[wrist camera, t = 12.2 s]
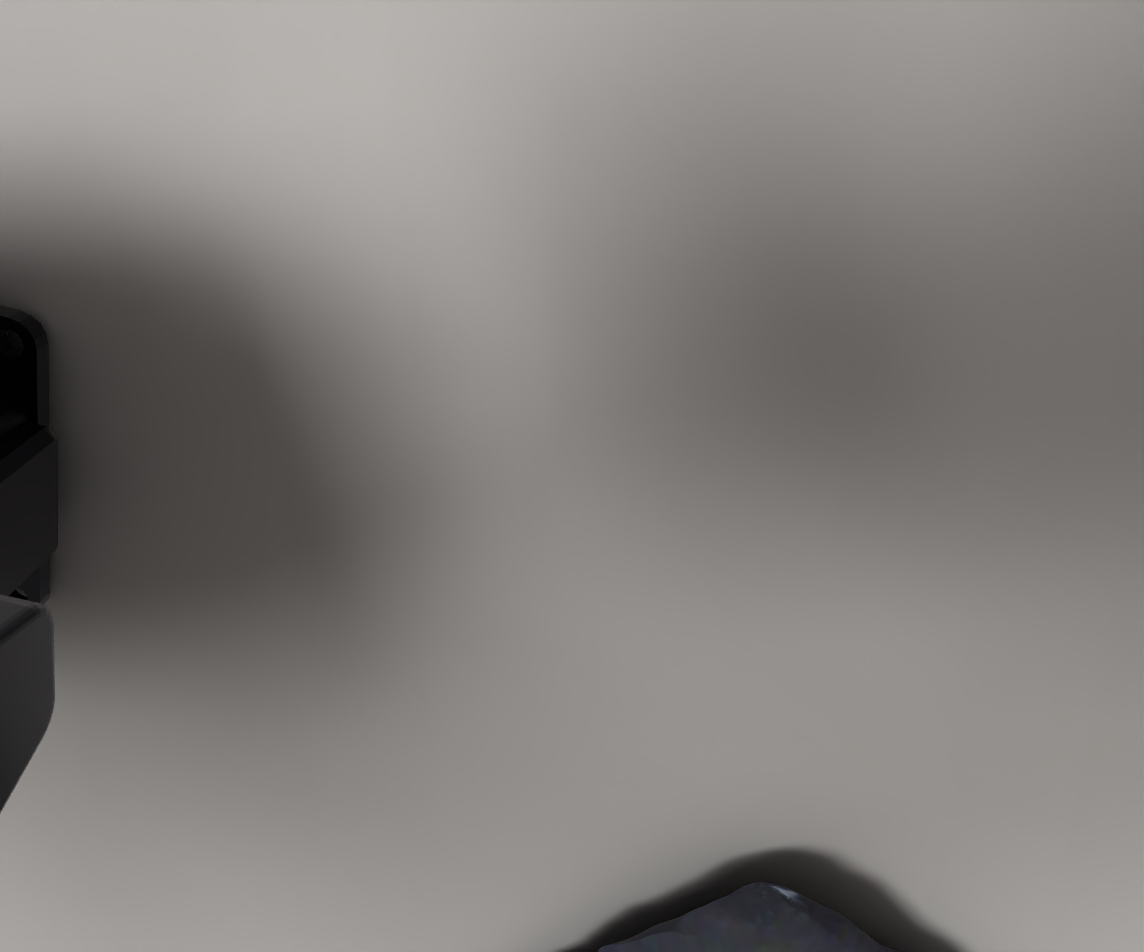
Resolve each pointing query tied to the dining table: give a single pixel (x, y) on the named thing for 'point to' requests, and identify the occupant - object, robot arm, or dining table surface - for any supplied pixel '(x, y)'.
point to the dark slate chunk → (754, 927)
